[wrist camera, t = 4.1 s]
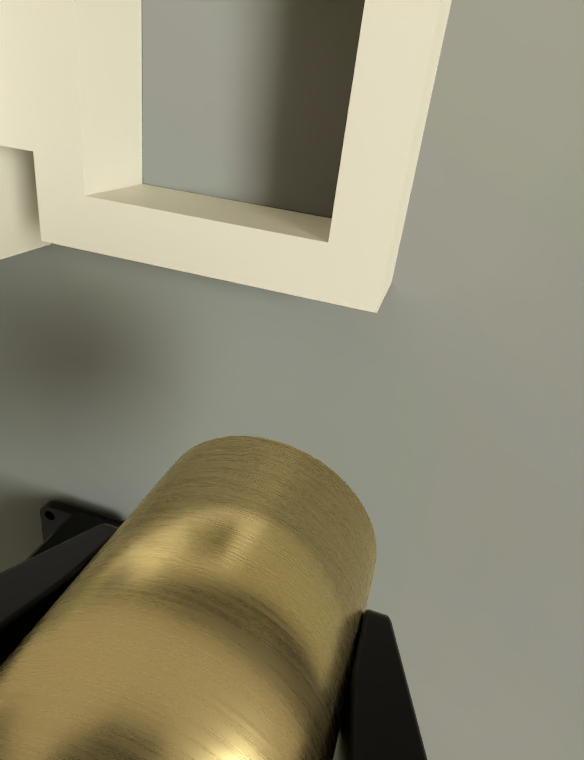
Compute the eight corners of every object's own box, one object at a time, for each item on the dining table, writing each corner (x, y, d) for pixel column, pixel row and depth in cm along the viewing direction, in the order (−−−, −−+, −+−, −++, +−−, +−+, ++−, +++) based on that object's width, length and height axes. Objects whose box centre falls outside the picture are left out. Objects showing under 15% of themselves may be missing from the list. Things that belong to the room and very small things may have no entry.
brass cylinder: (354, 646, 11) (251, 1103, 6) (159, 579, 12) (-76, 928, 7) (399, 475, 9) (303, 942, 4) (162, 410, 10) (-172, 724, 5)
